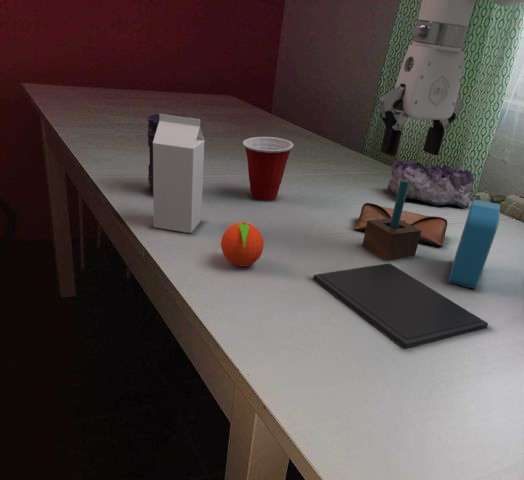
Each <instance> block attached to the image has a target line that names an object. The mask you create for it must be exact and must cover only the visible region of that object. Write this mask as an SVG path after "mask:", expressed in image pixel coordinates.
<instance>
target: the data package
mask: <svg viewBox="0 0 524 480" xmlns="http://www.w3.org/2000/svg"><path fill="white" fill-rule="evenodd" d="M500 217H501V204H500V203H495V202H492V201H491V202H490V201H485V200H481V199H472V200H471V204H470V207H469V210H468V213H467V217H466V220H465V223H464V227H463V229H462V232H461V236H460V239H459V241H458V245H457V249H456V252H455V255H454V258H453V262H452V266H451V269H450V275H449V278H448V283H450V284H453V285H458V286H461V287H466V288H470V289H474V290H475V289H477V287H478V285H479V283H480V280H481V277H482V274H483V271H484V268H485V265H486V262H487V260H488V257H489V254H490V251H491V248H492V245H493V242H494V239H495V237H496V233H497V230H498V227H499V223H500Z"/></svg>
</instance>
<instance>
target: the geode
mask: <svg viewBox="0 0 524 480" xmlns="http://www.w3.org/2000/svg"><path fill="white" fill-rule="evenodd" d="M390 171H391V177H390V178H389V181H388V184H387V186H386V188H387V190H389V191H390V192H392V193H393V194H394V195H395V196H396V197H397V194H398V190H399V185H400V181H401V180H407V181H409V185H408V189H407V194H406V198H405V199H411V200H418V201H421V202H423V203H428V204H431V205H433V206H439V207H441V206H446V205H454V206H457V207H459V208H461V209H466V208H469V205H470V203H471V195H472V194H473V192H474V187H473V186H474V183H475V177H474V174H473V173H472V171H471V170H468V169H465V170H461V169H459V168H458V167H456V168H455V169H454V168H452V167H451V166H449V165H447V164H444V165H443V166H442V167H441V164H436V165H434V166H425V165H423V164H422V163H421V162H420V161H417V162H416V163H415V162H414V161H412V160H406V161H405V162H404V161H401V160H397V161H393V163H392V164H391V166H390Z"/></svg>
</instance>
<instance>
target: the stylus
mask: <svg viewBox="0 0 524 480" xmlns="http://www.w3.org/2000/svg"><path fill="white" fill-rule="evenodd" d="M408 185H409V181H407V180H401V181H400V185H399V190H398V194H397V196H396V199H395V203H394V207H393V209H394V211H393V215H392V219H391V224H390V228H392V229H398V226H399V222H400V218H401V214H402V211H404V206H405V202H406V199H407V198H406V194H407V189H408Z"/></svg>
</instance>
